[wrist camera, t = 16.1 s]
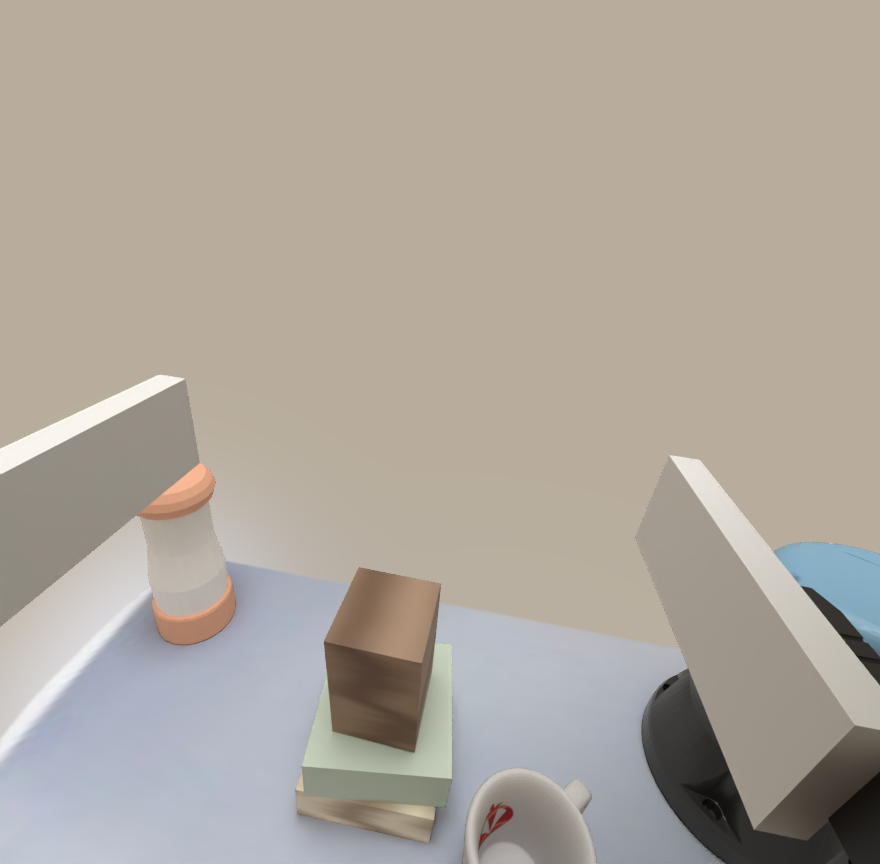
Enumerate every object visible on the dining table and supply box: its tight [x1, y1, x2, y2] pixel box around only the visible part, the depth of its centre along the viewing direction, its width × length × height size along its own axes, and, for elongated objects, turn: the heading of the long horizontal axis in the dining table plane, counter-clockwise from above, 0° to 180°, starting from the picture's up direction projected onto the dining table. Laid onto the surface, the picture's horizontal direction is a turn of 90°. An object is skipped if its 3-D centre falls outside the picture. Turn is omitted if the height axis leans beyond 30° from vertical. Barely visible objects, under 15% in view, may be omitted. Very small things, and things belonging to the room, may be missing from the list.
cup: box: [462, 768, 597, 864], centre depth 29 cm, size 11×8×8 cm
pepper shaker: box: [137, 463, 236, 645], centre depth 42 cm, size 7×7×19 cm
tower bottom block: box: [295, 773, 435, 843], centre depth 36 cm, size 10×10×4 cm
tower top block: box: [302, 643, 452, 807], centre depth 34 cm, size 10×10×4 cm
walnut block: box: [324, 567, 441, 752], centre depth 30 cm, size 6×6×10 cm
